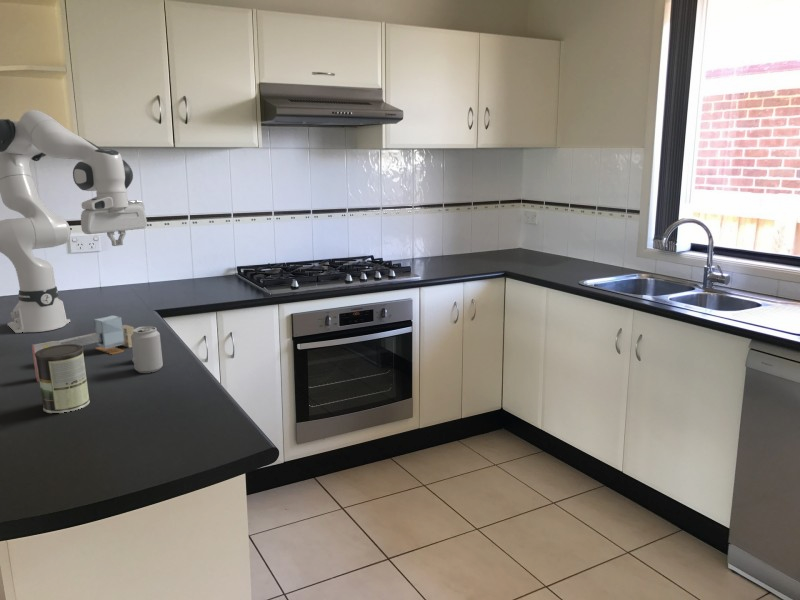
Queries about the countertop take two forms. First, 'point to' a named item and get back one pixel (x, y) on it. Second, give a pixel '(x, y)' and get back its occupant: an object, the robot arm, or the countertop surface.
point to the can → (146, 349)
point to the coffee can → (62, 378)
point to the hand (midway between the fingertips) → (117, 245)
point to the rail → (98, 337)
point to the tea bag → (38, 347)
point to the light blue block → (109, 331)
